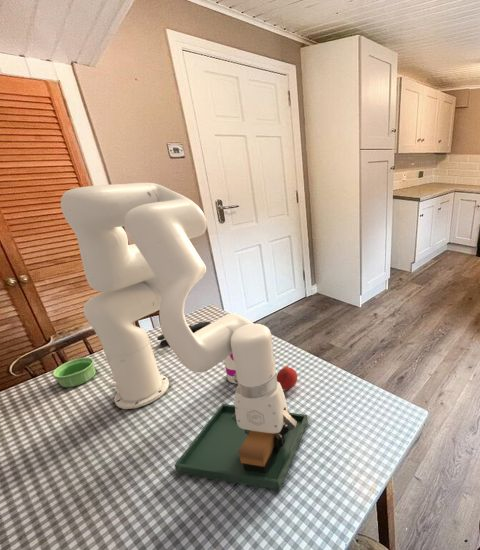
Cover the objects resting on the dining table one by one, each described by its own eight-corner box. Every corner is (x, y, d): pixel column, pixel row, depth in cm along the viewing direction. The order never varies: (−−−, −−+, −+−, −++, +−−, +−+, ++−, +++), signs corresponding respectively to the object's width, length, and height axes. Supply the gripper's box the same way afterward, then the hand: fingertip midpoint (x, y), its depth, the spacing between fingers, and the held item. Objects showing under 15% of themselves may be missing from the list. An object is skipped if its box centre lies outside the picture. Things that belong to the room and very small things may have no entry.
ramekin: (49, 387, 88) (43, 375, 86) (81, 367, 96) (76, 355, 94) (75, 391, 86) (70, 378, 85) (105, 370, 95) (101, 358, 93)
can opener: (214, 329, 117) (211, 316, 115) (214, 338, 111) (211, 325, 109) (160, 340, 110) (157, 326, 108) (157, 350, 104) (153, 336, 102)
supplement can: (259, 378, 92) (253, 336, 86) (230, 389, 88) (222, 345, 82) (252, 364, 98) (246, 323, 93) (225, 373, 94) (216, 331, 88)
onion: (293, 397, 85) (290, 374, 82) (274, 394, 86) (270, 371, 83) (301, 383, 90) (299, 361, 87) (283, 380, 91) (280, 358, 88)
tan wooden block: (265, 475, 63) (262, 454, 61) (242, 471, 64) (238, 451, 62) (289, 424, 75) (287, 405, 73) (269, 421, 76) (267, 403, 74)
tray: (176, 473, 64) (174, 465, 63) (223, 410, 80) (222, 403, 79) (279, 490, 61) (278, 482, 60) (307, 421, 77) (307, 414, 76)
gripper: (209, 389, 61) (224, 453, 67) (290, 399, 58) (297, 465, 65) (230, 365, 67) (242, 426, 74) (303, 374, 65) (308, 435, 72)
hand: (267, 443), depth 69 cm, fingers closed on tan wooden block, 5 cm apart
